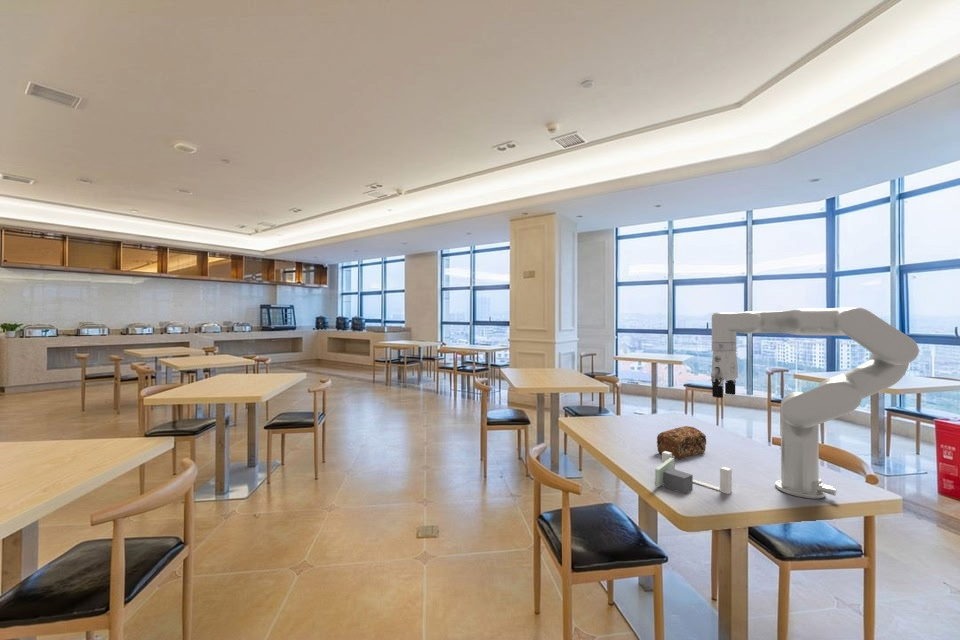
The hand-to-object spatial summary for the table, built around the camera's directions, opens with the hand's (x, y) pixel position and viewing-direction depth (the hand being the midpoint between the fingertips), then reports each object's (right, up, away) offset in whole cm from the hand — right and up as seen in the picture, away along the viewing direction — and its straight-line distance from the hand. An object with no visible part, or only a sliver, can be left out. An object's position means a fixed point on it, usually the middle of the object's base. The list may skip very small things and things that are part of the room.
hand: (724, 395), depth 143 cm
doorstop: (-21, -28, -10) cm, 37 cm away
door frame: (-13, -28, -6) cm, 32 cm away
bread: (-3, -29, +25) cm, 38 cm away
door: (-23, -28, -5) cm, 36 cm away
